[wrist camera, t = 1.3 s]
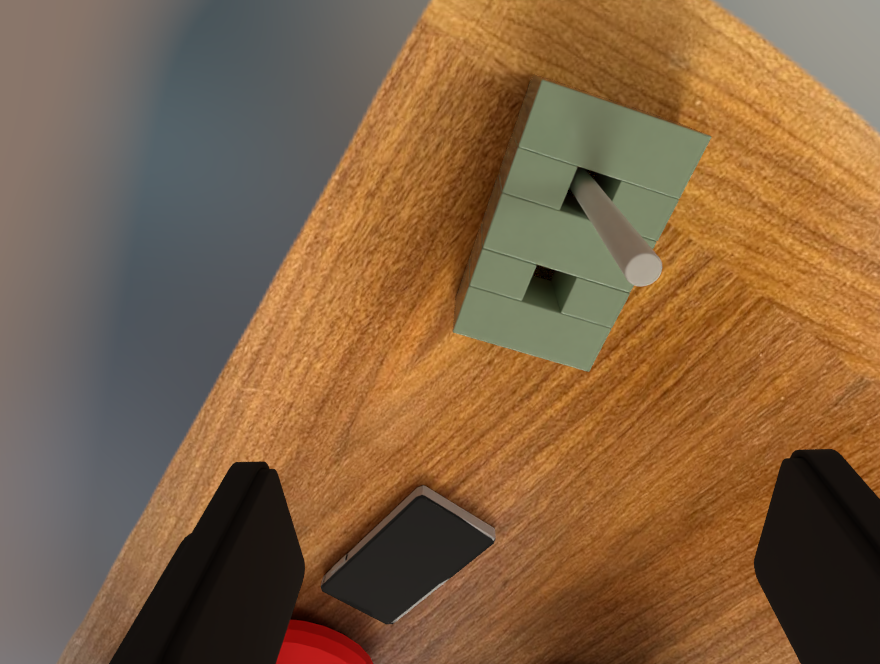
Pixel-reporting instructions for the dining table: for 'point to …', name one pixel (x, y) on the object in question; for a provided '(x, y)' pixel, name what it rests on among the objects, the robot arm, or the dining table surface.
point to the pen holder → (568, 221)
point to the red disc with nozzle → (319, 646)
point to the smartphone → (408, 556)
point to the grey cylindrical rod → (616, 232)
